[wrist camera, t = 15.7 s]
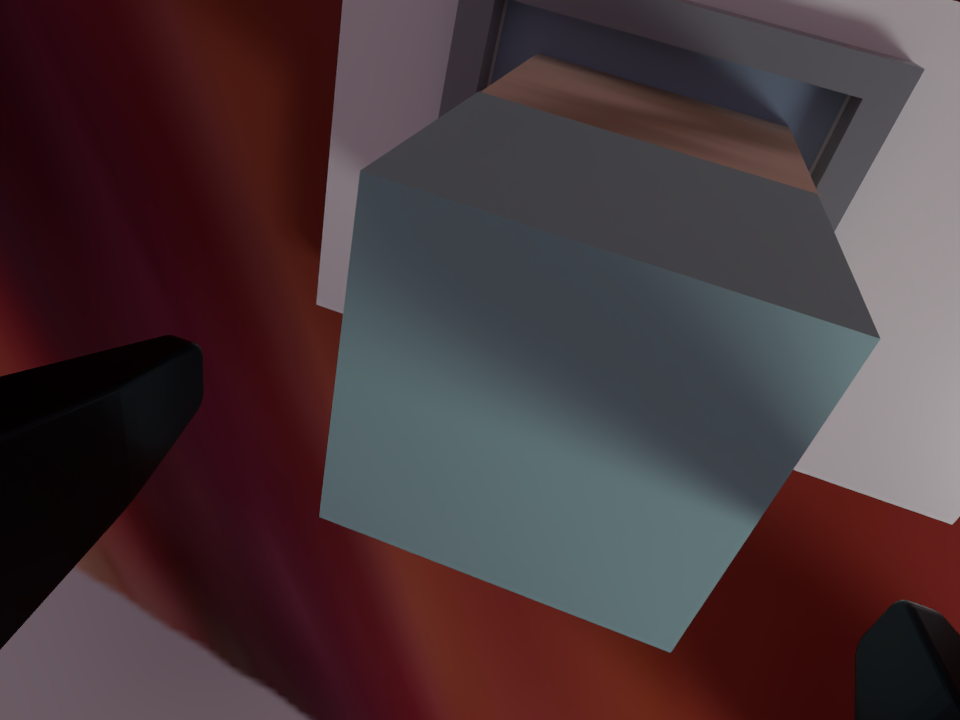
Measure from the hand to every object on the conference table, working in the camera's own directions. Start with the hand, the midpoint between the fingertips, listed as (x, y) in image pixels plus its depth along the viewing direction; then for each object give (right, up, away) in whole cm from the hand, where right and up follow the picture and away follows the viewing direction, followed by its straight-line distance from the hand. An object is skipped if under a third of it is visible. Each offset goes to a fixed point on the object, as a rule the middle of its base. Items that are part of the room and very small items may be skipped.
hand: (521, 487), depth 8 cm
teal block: (+2, +3, +5) cm, 6 cm away
